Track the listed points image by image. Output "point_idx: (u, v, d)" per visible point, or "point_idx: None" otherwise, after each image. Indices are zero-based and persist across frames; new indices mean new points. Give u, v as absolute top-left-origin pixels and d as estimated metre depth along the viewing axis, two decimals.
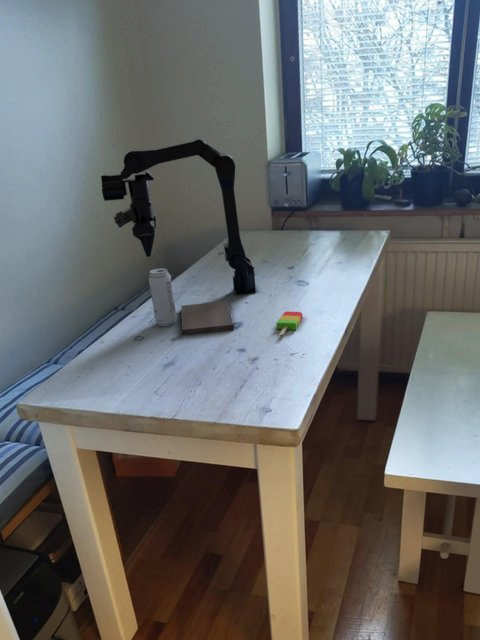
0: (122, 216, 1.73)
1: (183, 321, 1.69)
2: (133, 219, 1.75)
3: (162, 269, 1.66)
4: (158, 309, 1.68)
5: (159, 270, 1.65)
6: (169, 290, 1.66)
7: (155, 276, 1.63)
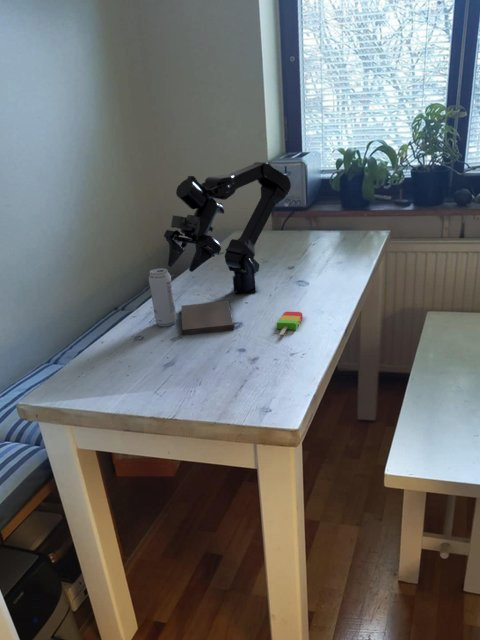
0: (194, 221, 1.64)
1: (183, 321, 1.69)
2: (195, 231, 1.67)
3: (162, 269, 1.66)
4: (158, 309, 1.68)
5: (159, 270, 1.65)
6: (169, 290, 1.66)
7: (155, 276, 1.63)
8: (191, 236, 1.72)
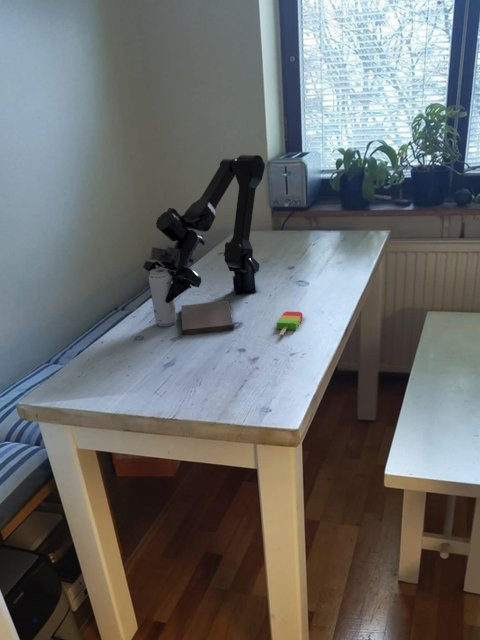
0: (174, 253, 1.62)
1: (183, 321, 1.69)
2: (176, 263, 1.65)
3: (162, 269, 1.66)
4: (158, 309, 1.68)
5: (159, 270, 1.65)
6: None
7: (155, 276, 1.63)
8: (171, 268, 1.69)
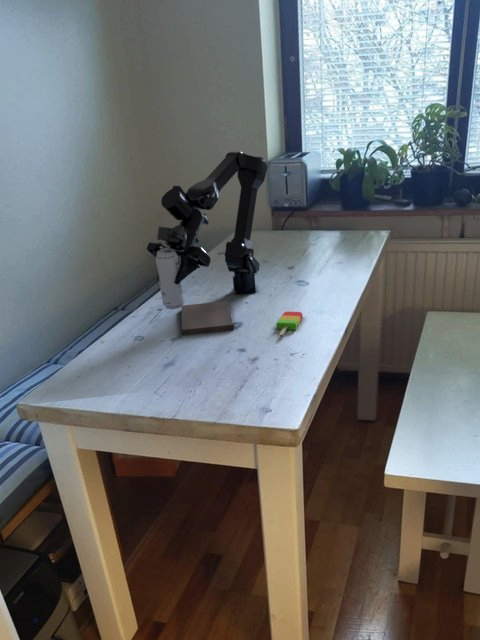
0: (183, 232, 1.57)
1: (183, 321, 1.69)
2: (183, 242, 1.60)
3: (169, 249, 1.61)
4: (167, 291, 1.63)
5: (166, 250, 1.60)
6: (177, 270, 1.61)
7: (163, 257, 1.58)
8: (176, 248, 1.64)
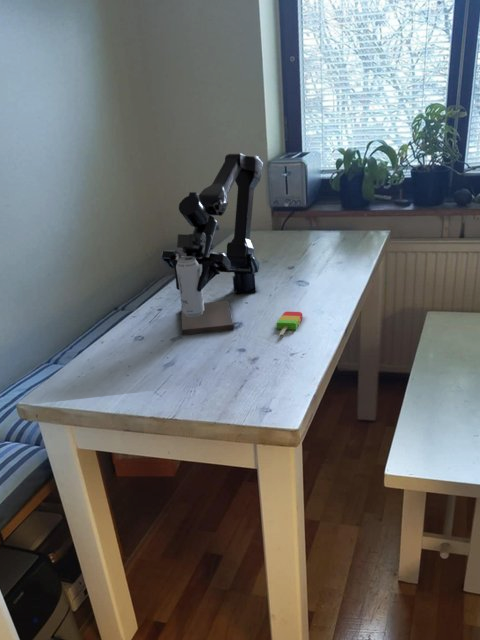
0: (204, 239, 1.56)
1: (183, 321, 1.69)
2: (202, 249, 1.59)
3: (188, 257, 1.59)
4: (189, 299, 1.61)
5: (186, 258, 1.58)
6: (199, 277, 1.59)
7: (186, 264, 1.56)
8: (193, 255, 1.63)
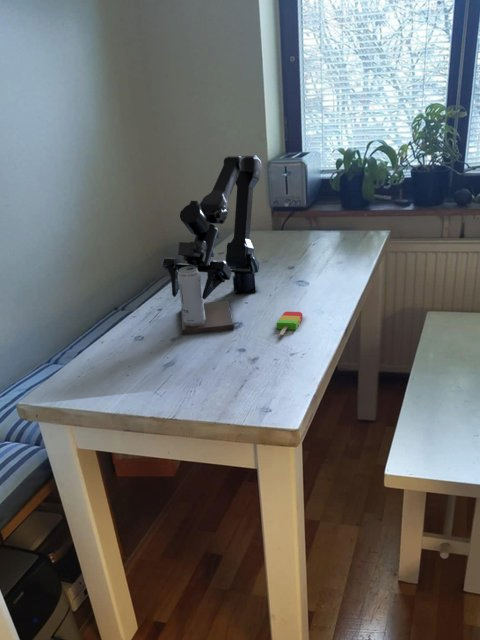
0: (205, 247, 1.57)
1: (183, 321, 1.69)
2: (203, 257, 1.60)
3: (190, 267, 1.60)
4: (190, 308, 1.62)
5: (188, 268, 1.60)
6: (200, 287, 1.61)
7: (187, 274, 1.57)
8: (193, 263, 1.64)
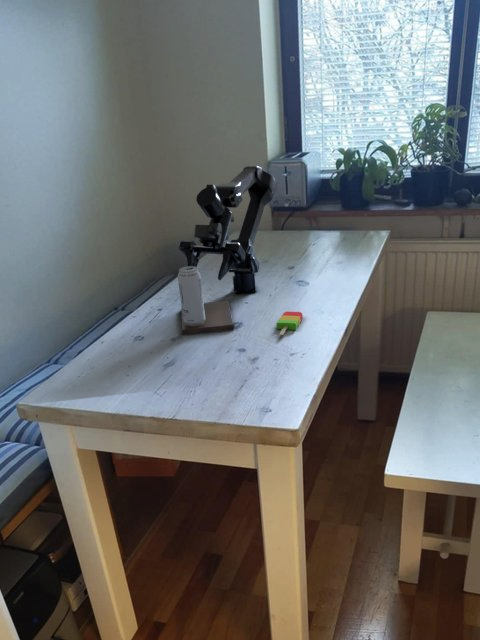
0: (220, 229, 1.63)
1: (183, 321, 1.69)
2: (219, 239, 1.66)
3: (190, 267, 1.60)
4: (190, 308, 1.62)
5: (188, 268, 1.60)
6: (200, 287, 1.61)
7: (187, 274, 1.57)
8: (209, 245, 1.70)
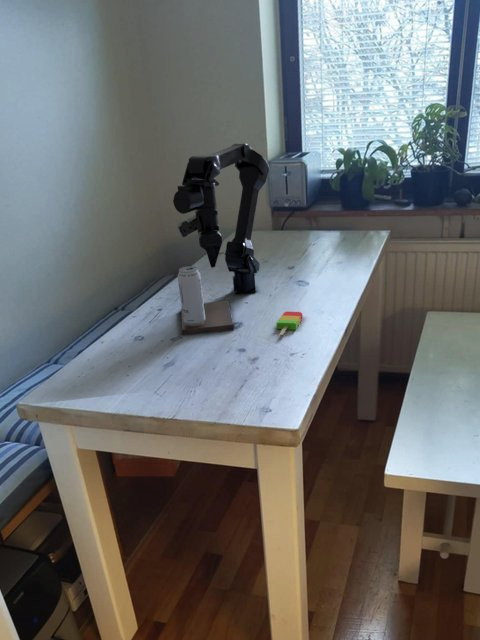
0: (188, 225, 1.65)
1: (183, 321, 1.69)
2: (198, 228, 1.67)
3: (190, 267, 1.60)
4: (190, 308, 1.62)
5: (188, 268, 1.60)
6: (200, 287, 1.61)
7: (187, 274, 1.57)
8: None
